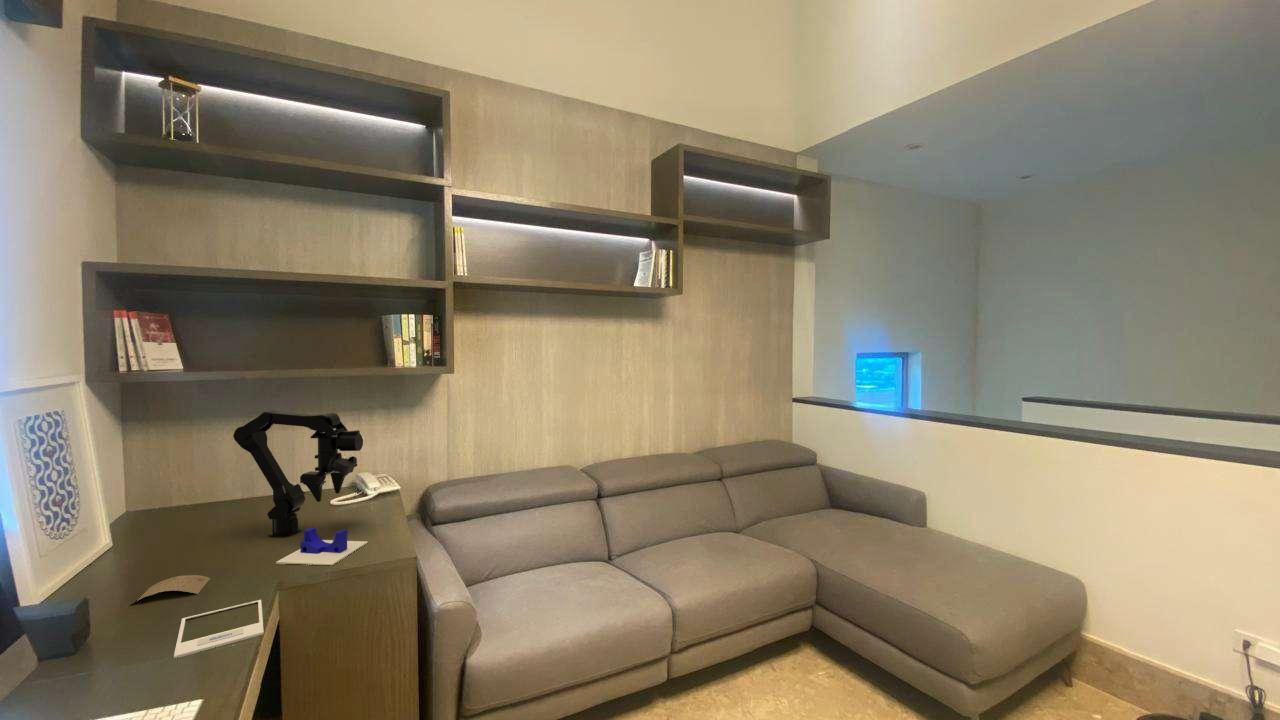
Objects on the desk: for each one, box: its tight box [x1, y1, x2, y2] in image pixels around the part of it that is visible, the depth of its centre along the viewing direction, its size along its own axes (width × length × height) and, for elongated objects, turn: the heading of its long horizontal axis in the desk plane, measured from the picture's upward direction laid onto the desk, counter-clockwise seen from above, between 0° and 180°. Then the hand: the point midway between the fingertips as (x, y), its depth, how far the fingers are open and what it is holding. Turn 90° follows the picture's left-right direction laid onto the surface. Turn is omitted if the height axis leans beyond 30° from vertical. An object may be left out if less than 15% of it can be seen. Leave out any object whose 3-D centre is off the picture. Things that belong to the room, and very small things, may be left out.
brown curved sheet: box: [133, 574, 211, 604], centre depth 131 cm, size 14×10×3 cm
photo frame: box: [173, 599, 265, 659], centre depth 115 cm, size 15×1×18 cm
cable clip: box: [299, 527, 348, 554], centre depth 156 cm, size 12×4×6 cm, turn 82°
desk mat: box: [275, 539, 369, 566], centre depth 156 cm, size 17×17×1 cm
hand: (328, 497), depth 172 cm, fingers open, 9 cm apart
